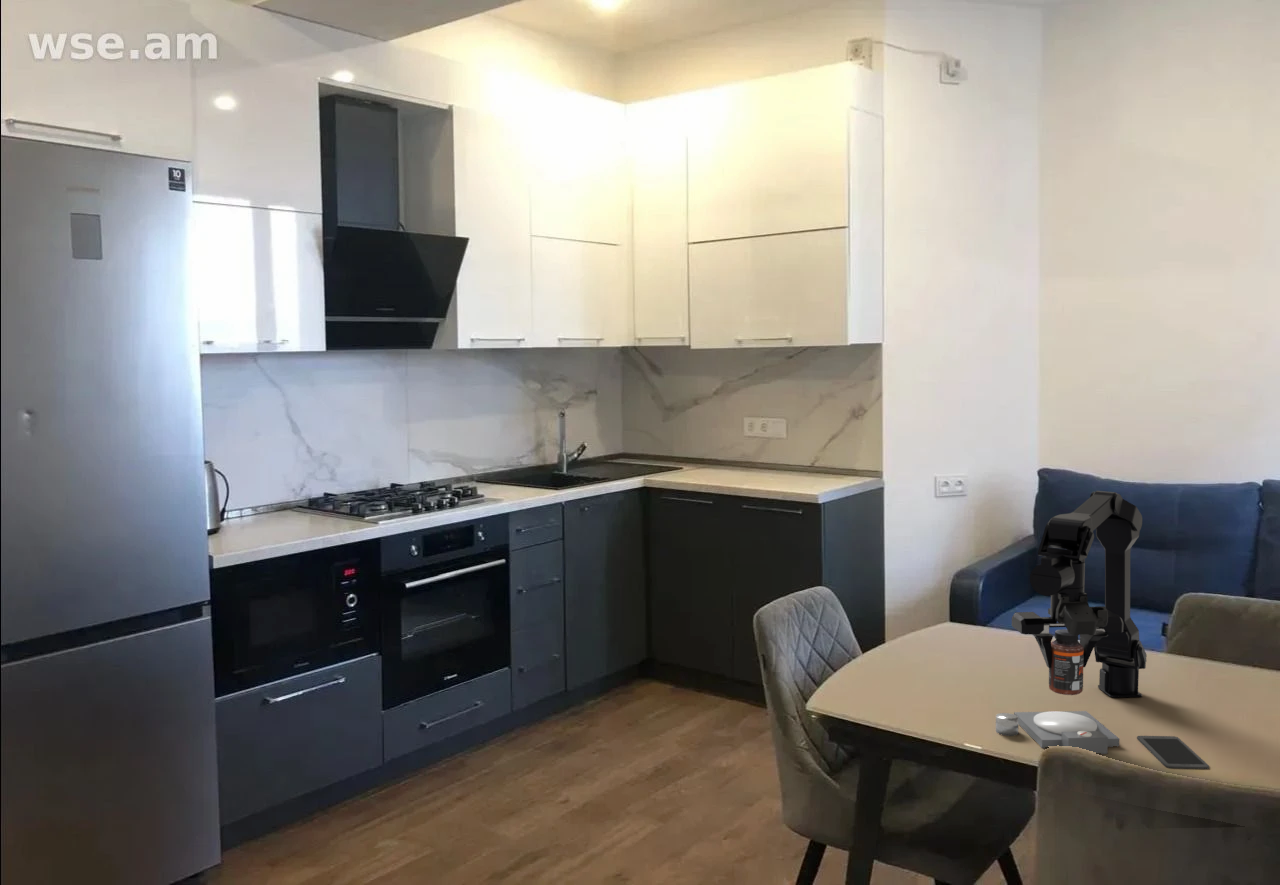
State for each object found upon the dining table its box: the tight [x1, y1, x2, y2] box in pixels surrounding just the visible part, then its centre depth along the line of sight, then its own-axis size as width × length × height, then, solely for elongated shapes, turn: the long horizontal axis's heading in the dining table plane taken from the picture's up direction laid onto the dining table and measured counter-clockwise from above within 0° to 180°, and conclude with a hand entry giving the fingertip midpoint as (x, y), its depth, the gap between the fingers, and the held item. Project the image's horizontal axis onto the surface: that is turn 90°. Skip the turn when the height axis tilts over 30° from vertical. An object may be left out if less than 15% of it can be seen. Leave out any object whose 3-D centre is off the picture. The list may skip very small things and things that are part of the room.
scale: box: [1013, 710, 1120, 755], centre depth 191 cm, size 14×17×3 cm
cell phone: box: [1136, 735, 1210, 770], centre depth 183 cm, size 7×14×1 cm, turn 175°
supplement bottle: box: [1048, 628, 1084, 696], centre depth 192 cm, size 6×6×11 cm
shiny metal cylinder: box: [995, 712, 1019, 737], centre depth 194 cm, size 4×4×3 cm
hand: (1065, 667), depth 192 cm, fingers closed on supplement bottle, 6 cm apart
